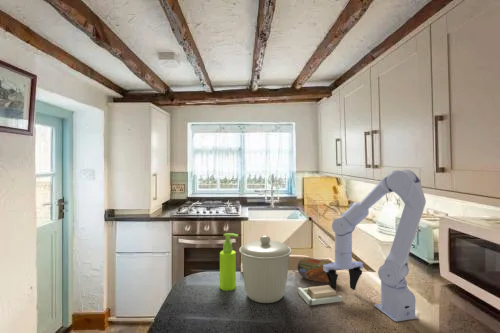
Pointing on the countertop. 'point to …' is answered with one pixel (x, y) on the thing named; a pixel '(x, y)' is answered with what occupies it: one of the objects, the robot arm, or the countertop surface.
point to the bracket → (316, 301)
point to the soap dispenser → (228, 264)
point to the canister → (265, 269)
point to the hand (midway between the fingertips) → (343, 289)
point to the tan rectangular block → (321, 292)
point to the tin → (313, 269)
